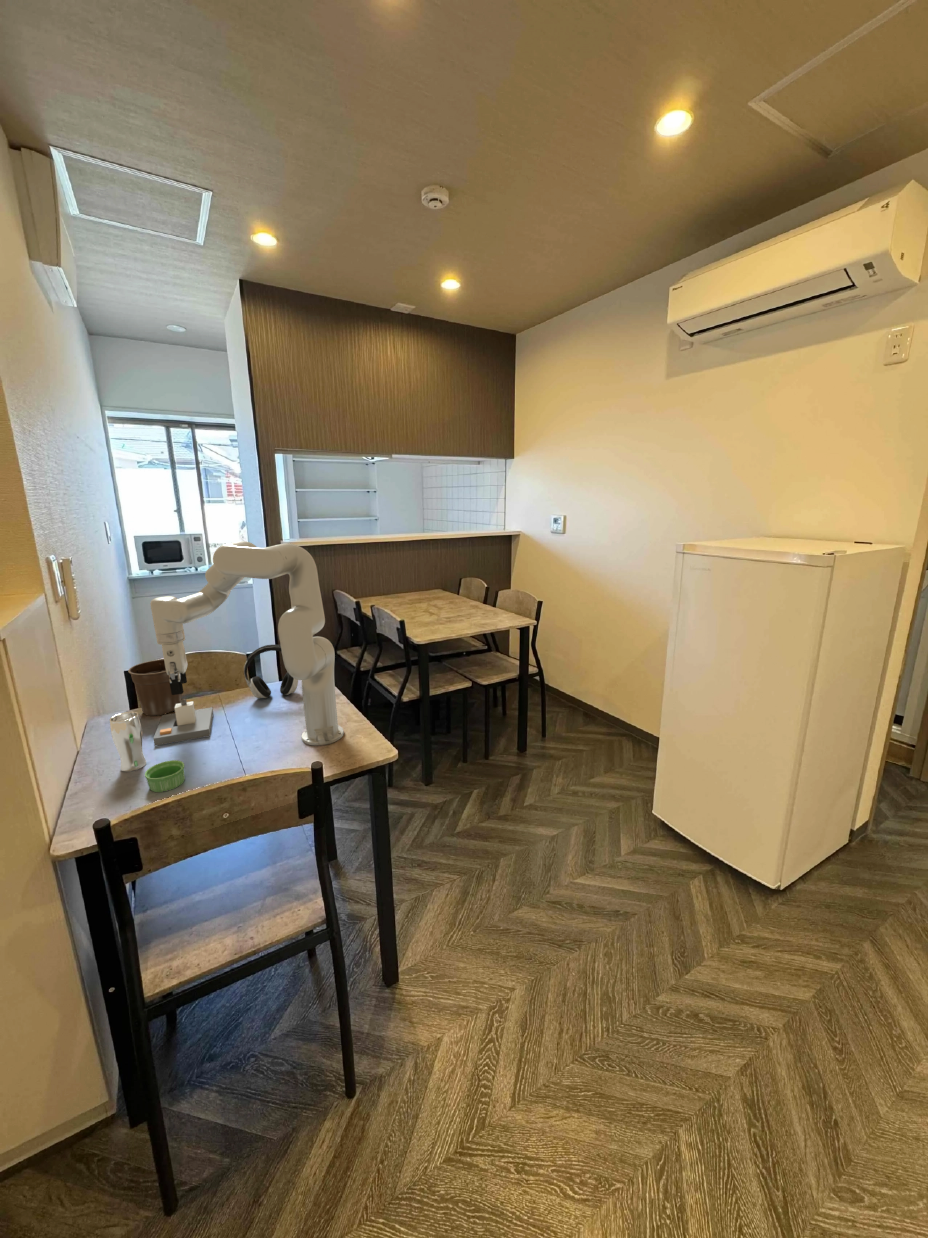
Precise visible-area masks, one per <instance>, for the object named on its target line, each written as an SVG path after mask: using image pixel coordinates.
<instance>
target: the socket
mask: <svg viewBox="0 0 928 1238" xmlns="http://www.w3.org/2000/svg"><path fill="white" fill-rule="evenodd" d="M213 710H214V709H213V707H212V706H211V707H206V708H200V709H198V708H197V709H195V714H196V721H195V723H192V724H186V725H180V726H178V725H177V720H176V714H175V712H173V713H168V714H164V715H161V718H160V720H159V723H158V725H157V727H156V728H157V729H156V730H155V734H154V736H153V745H154V746H155V745H157V746H161V745H167V743H168V744H172V742H174V743H179V742H184V741H189V740H196V739H201V738H208V737H210V736H211V733H212V732H211V731H212V724H213V719H214V711H213Z"/></svg>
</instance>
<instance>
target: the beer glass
mask: <svg viewBox="0 0 928 1238" xmlns="http://www.w3.org/2000/svg"><path fill="white" fill-rule="evenodd" d="M109 725H110V727H109V729H110V734H111V738H112V742H113V744H114V747H115V748H116V751H117V753H118V755H119V758H120V770H121V771H122V772H125V773H128V772H129V773H130V772H134V771H138V770H140V769H142V768H143V767H146V764H147V760H146V757H145V755H144V753H143V727H142V724H141V719H140V716H139V712H137V711H126V712H120V713H118V714H115V715H113V716H111V717H110V719H109Z"/></svg>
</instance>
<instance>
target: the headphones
mask: <svg viewBox="0 0 928 1238" xmlns="http://www.w3.org/2000/svg"><path fill="white" fill-rule="evenodd" d="M272 651H274V652H281V653H282V650H281V645H280V644H266V645H262V646H261V647H258V648H256V649H255V650H253V651H252V652H251V653H250V654H249V655H248V656H247V658H246V661H245V663H244V666H243V675H244V679H245V682H246V685H247V686H248V688H249V690H250V692H251V694H252V695H253V696H254V697H255V698H256V699H267V698H269V697H270V696H271V695H272V690H271V689H270V686H269V685H268V684H267V683H266V681H265V680H263V678H261V677H260V676H259V675H256V676H253V677H252V678H250V680H249V677H248V668H249V666H250V664H251V662H252V661H253V660H254V659H255V658H256V657H257V656H259V655H262V654H263V653H266V652H272ZM298 684H299V680H297V679H295V678H293V677H292V676H291V675H290V674H289V673H288V672H286V673H285V674H284V676H283V678H282V681H281V684H280V688H279V692H280V694H281V695H284V696H288V695H290V694H294V693H295V692H296V691H297V689H298V688H297V687H298V686H299V685H298Z"/></svg>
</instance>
